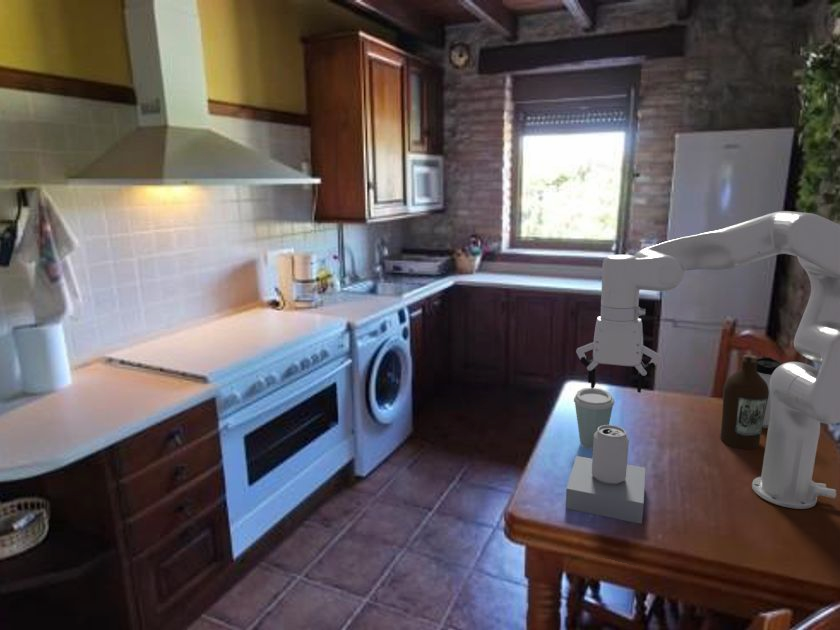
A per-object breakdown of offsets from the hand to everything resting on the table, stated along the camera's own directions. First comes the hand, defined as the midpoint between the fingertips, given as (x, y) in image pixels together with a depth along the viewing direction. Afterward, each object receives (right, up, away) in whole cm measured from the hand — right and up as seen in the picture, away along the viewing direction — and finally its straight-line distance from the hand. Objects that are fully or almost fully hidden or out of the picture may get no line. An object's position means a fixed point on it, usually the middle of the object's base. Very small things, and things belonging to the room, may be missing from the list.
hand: (615, 388), depth 122 cm
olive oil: (+46, -19, +32) cm, 59 cm away
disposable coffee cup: (+5, -20, +32) cm, 38 cm away
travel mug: (+58, -17, +42) cm, 74 cm away
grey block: (0, -26, +6) cm, 27 cm away
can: (0, -22, +5) cm, 22 cm away
